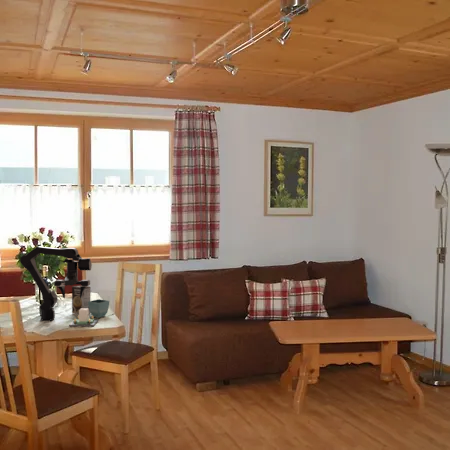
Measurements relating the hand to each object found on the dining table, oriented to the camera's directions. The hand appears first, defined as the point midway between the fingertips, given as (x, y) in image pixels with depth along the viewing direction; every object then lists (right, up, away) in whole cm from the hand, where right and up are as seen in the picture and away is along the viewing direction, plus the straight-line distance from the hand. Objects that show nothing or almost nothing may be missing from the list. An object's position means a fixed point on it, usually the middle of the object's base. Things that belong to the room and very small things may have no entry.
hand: (72, 298), depth 309 cm
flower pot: (+13, -12, +9) cm, 20 cm away
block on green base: (+9, -12, -10) cm, 18 cm away
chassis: (+9, -13, -10) cm, 19 cm away
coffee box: (+1, -12, +17) cm, 20 cm away
